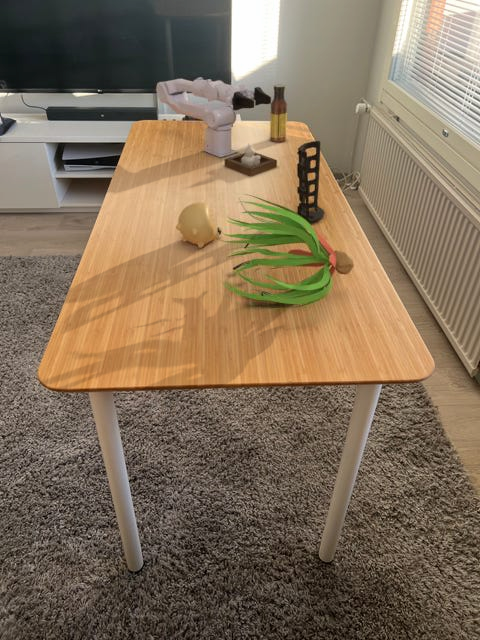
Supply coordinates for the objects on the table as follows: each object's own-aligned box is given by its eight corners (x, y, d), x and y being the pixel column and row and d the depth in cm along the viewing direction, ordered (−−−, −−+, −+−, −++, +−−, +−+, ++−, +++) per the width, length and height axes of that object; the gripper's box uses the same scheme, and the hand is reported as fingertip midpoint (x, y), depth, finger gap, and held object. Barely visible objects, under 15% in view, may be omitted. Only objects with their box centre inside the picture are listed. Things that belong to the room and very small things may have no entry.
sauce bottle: (286, 137, 203) (289, 83, 191) (285, 143, 198) (289, 87, 186) (269, 137, 203) (272, 83, 191) (268, 142, 198) (271, 87, 186)
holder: (322, 225, 142) (323, 152, 130) (295, 224, 144) (293, 153, 132) (325, 208, 151) (326, 139, 139) (299, 208, 152) (298, 140, 141)
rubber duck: (241, 163, 179) (241, 140, 175) (260, 164, 179) (261, 140, 174) (240, 169, 175) (241, 145, 170) (260, 169, 175) (261, 146, 170)
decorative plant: (357, 331, 113) (226, 351, 106) (315, 256, 129) (199, 269, 121) (396, 239, 94) (240, 255, 86) (342, 164, 110) (206, 172, 102)
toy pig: (214, 259, 134) (234, 223, 135) (194, 240, 123) (215, 202, 124) (186, 246, 138) (205, 212, 139) (164, 227, 128) (184, 190, 128)
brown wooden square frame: (224, 166, 177) (224, 158, 176) (250, 157, 184) (250, 150, 183) (250, 176, 170) (250, 169, 168) (276, 167, 177) (277, 160, 176)
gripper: (216, 85, 166) (245, 92, 158) (248, 79, 174) (277, 85, 166) (216, 108, 170) (245, 116, 162) (248, 101, 178) (276, 108, 170)
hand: (262, 102), depth 164 cm, fingers open, 7 cm apart
